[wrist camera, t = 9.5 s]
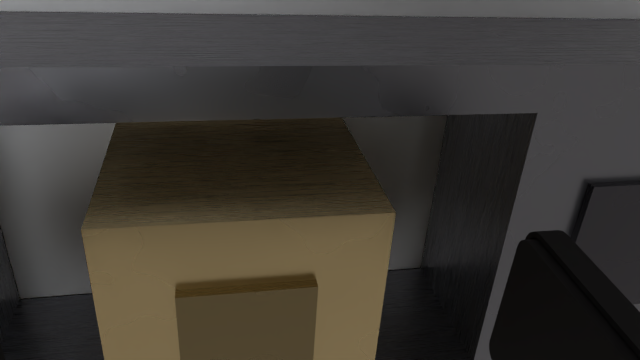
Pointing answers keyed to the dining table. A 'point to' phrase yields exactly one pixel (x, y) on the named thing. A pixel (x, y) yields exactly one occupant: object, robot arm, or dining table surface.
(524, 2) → the dining table surface
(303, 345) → the brass block
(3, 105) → the grey slotted block
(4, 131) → the dining table surface
